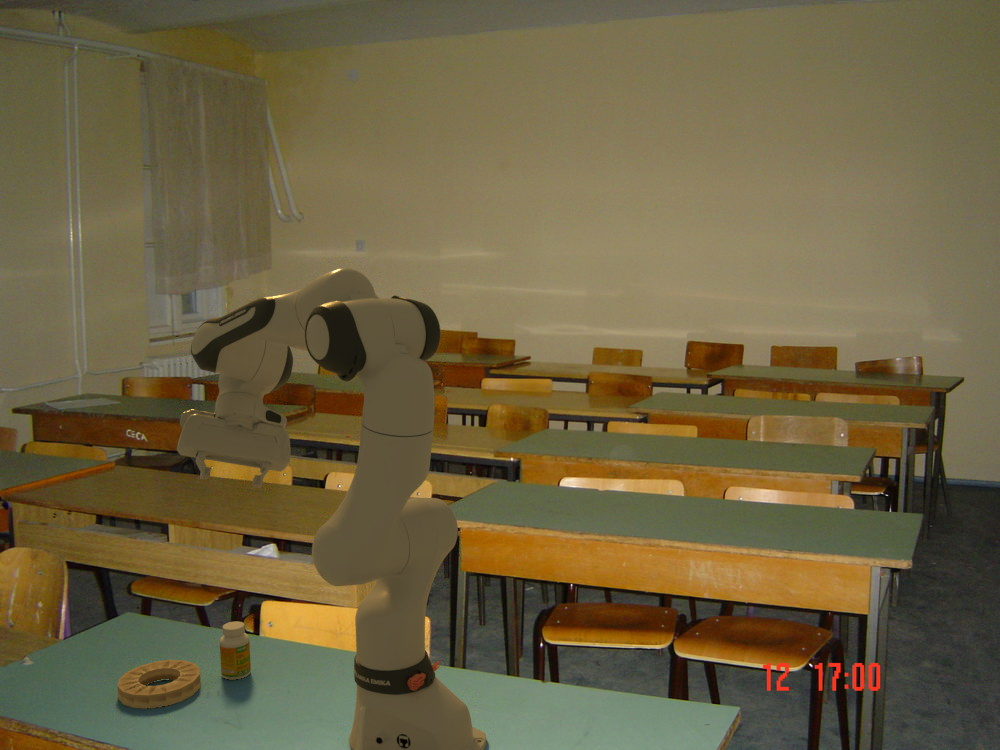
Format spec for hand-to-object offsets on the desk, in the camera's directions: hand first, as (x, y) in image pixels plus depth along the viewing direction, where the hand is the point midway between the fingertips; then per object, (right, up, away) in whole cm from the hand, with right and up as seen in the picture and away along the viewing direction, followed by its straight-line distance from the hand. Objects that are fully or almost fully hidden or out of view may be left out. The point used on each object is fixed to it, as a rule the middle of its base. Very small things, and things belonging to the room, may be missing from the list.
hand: (231, 482), depth 168 cm
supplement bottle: (-1, -37, +8) cm, 38 cm away
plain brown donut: (-14, -38, +2) cm, 41 cm away
